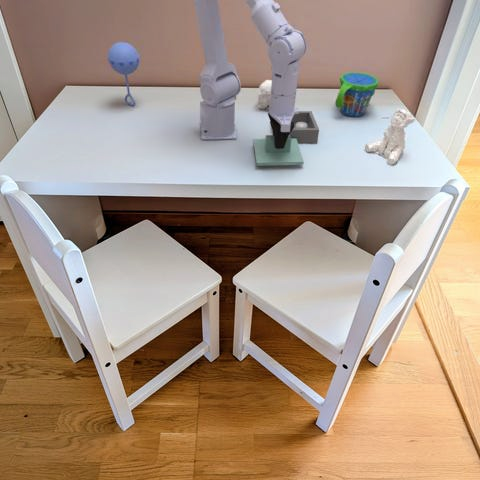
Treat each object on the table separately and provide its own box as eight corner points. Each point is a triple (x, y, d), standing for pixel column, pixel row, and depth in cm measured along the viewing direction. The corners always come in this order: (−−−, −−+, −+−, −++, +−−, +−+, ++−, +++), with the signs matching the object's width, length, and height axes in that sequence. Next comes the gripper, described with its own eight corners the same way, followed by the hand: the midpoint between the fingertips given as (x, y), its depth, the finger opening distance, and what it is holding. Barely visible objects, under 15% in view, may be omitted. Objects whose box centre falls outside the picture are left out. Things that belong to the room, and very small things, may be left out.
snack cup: (357, 100, 129) (365, 67, 122) (383, 112, 123) (392, 79, 116) (321, 111, 123) (326, 77, 116) (345, 125, 116) (353, 90, 109)
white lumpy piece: (258, 82, 116) (260, 71, 126) (256, 112, 121) (259, 99, 131) (280, 84, 116) (281, 72, 125) (277, 113, 121) (278, 100, 130)
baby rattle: (152, 103, 125) (143, 41, 112) (132, 114, 119) (121, 50, 107) (131, 97, 128) (120, 36, 116) (111, 107, 123) (98, 44, 110)
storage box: (276, 144, 108) (277, 130, 105) (271, 124, 116) (272, 111, 113) (317, 143, 108) (319, 129, 106) (309, 124, 117) (311, 111, 114)
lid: (256, 167, 98) (257, 149, 95) (252, 144, 107) (253, 126, 103) (303, 166, 99) (305, 148, 95) (295, 143, 107) (297, 126, 104)
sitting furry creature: (362, 150, 106) (373, 106, 98) (383, 141, 110) (396, 98, 102) (391, 166, 101) (405, 121, 93) (412, 156, 105) (428, 112, 96)
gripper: (306, 104, 86) (299, 160, 96) (296, 78, 97) (290, 130, 106) (274, 105, 86) (269, 160, 95) (266, 78, 97) (263, 130, 106)
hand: (278, 144), depth 101 cm, fingers closed on lid, 2 cm apart
